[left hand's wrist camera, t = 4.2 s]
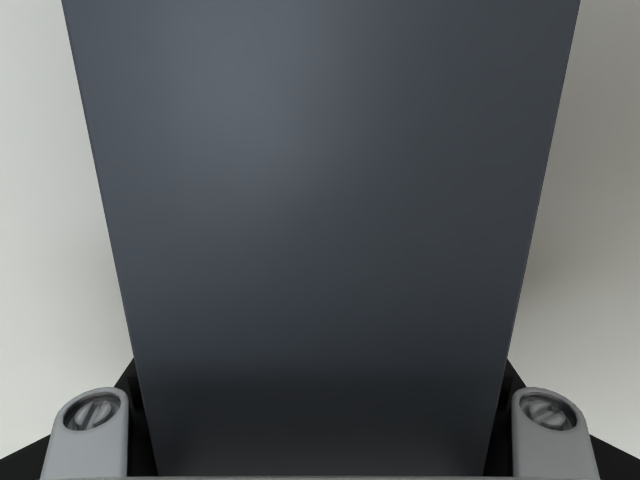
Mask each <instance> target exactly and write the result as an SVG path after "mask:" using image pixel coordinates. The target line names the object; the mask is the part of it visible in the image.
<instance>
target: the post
mask: <svg viewBox="0 0 640 480" xmlns="http://www.w3.org/2000/svg"><path fill="white" fill-rule="evenodd" d="M61 1H62V6H63V11H64V16H65V21H66V26H67V30H68V35H69V40H70V45H71V50H72V55H73V60H74V65H75V70H76V75H77V80H78V85H79V90H80V94H81V99H82V104H83V109H84V114H85V119H86V124H87V129H88V134H89V139H90V144H91V149H92V153H93V158H94V163H95V168H96V173H97V178H98V183H99V188H100V193H101V198H102V203H103V208H104V213H105V217H106V222H107V227H108V232H109V237H110V242H111V247H112V252H113V257H114V262H115V267H116V272H117V277H118V281H119V286H120V291H121V296H122V301H123V306H124V311H125V316H126V321H127V326H128V331H129V336H130V341H131V345H132V350H133V355H134V360H135V365H136V370H137V375H138V380H139V385H140V390H141V395H142V400H143V404H144V409H145V414H146V419H147V424H148V429H149V434H150V439H151V444H152V449H153V454H154V459H155V464H156V468H157V473H158V477H169V476H471V477H483V473H484V468H485V463H486V458H487V453H488V449H489V444H490V439H491V434H492V429H493V424H494V419H495V414H496V410H497V405H498V400H499V395H500V390H501V385H502V380H503V375H504V371H505V366H506V361H507V356H508V351H509V346H510V341H511V336H512V331H513V327H514V322H515V317H516V312H517V307H518V302H519V297H520V292H521V288H522V283H523V278H524V273H525V268H526V263H527V258H528V253H529V249H530V244H531V239H532V234H533V229H534V224H535V219H536V214H537V210H538V205H539V200H540V195H541V190H542V185H543V180H544V175H545V171H546V166H547V161H548V156H549V151H550V146H551V141H552V136H553V132H554V127H555V122H556V117H557V112H558V107H559V102H560V97H561V93H562V88H563V83H564V78H565V73H566V68H567V63H568V58H569V54H570V49H571V44H572V39H573V34H574V29H575V24H576V19H577V15H578V10H579V5H580V0H61Z"/></svg>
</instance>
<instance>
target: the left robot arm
mask: <svg viewBox="0 0 640 480" xmlns="http://www.w3.org/2000/svg"><path fill="white" fill-rule="evenodd" d="M0 480H640V459H638V458H636V457H634V456H632V455H630V454H628V453H626V452H624V451H622V450H620V449H618V448H616V447H614V446H612V445H610V444H608V443H606V442H604V441H602V440H600V439H598V438H596V437H594V436H592V435H590V434H589V432H588V428H587V424H586V420H585V418H584V416H583V414H582V412H581V411H580V410H579V408H578V407H577V406H576V405H575V404H574V403H572V402H571V401H570V400H568V399H567V398H565V397H563V396H561V395H560V394H558V393H556V392H553V391H550V390H547V389H543V388H537V387H526V386H525V384H524V383H523V381H522V380H521V378H520V377H519V375H518V374H517V372H516V371H515V369H514V368H513V366H512V365H511V363H510V362H509V361H508V359H507V361H506V366H505V371H504V375H503V380H502V385H501V390H500V395H499V400H498V405H497V410H496V414H495V419H494V424H493V429H492V434H491V439H490V444H489V449H488V453H487V458H486V463H485V468H484V473H483V477H471V476H169V477H158V473H157V468H156V464H155V459H154V454H153V449H152V444H151V439H150V434H149V429H148V424H147V419H146V414H145V409H144V404H143V400H142V395H141V390H140V385H139V380H138V375H137V370H136V365H135V360H134V358H133V359H132V361H131V362H130V364H129V365H128V367H127V368H126V370H125V371H124V373H123V374H122V376H121V377H120V379H119V380H118V382H117V383H116V384H115V386H114V387H103V388H97V389H93V390H90V391H87V392H84V393H82V394H80V395H79V396H77V397H75V398H73V399H72V400H70V401H69V402H68V403H66V404H65V405H64V406H63V407H62V408H61V410H60V411H59V412H58V414H57V416H56V418H55V420H54V424H53V428H52V432H51V434H50V435H48V436H46V437H44V438H42V439H40V440H38V441H36V442H34V443H32V444H30V445H28V446H26V447H24V448H22V449H20V450H18V451H16V452H14V453H12V454H10V455H8V456H6V457H4V458H2V459H0Z"/></svg>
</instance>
